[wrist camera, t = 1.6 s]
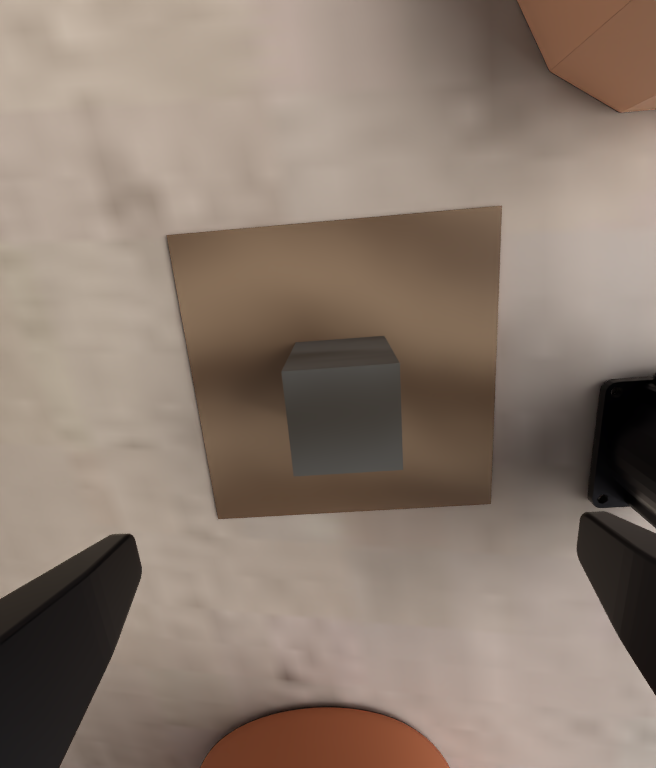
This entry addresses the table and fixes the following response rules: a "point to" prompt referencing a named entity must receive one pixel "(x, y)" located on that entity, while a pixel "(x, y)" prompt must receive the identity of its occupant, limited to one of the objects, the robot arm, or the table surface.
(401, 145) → the table surface
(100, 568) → the robot arm
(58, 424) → the table surface
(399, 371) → the lid
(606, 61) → the bowl
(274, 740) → the potted cactus
